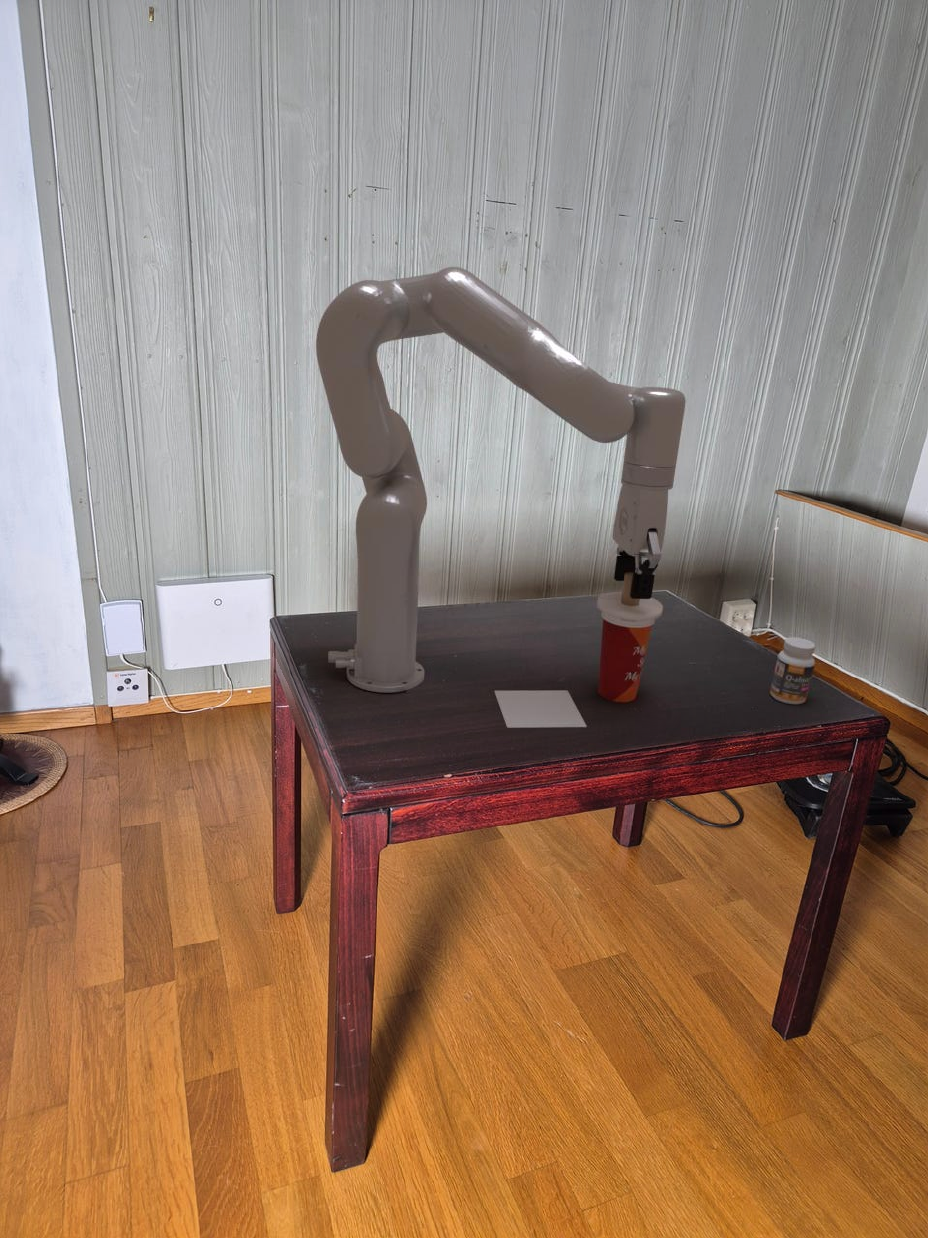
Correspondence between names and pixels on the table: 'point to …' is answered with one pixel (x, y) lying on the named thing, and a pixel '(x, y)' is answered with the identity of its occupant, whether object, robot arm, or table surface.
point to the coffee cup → (622, 657)
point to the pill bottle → (793, 671)
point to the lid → (629, 604)
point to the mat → (539, 709)
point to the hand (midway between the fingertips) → (631, 588)
